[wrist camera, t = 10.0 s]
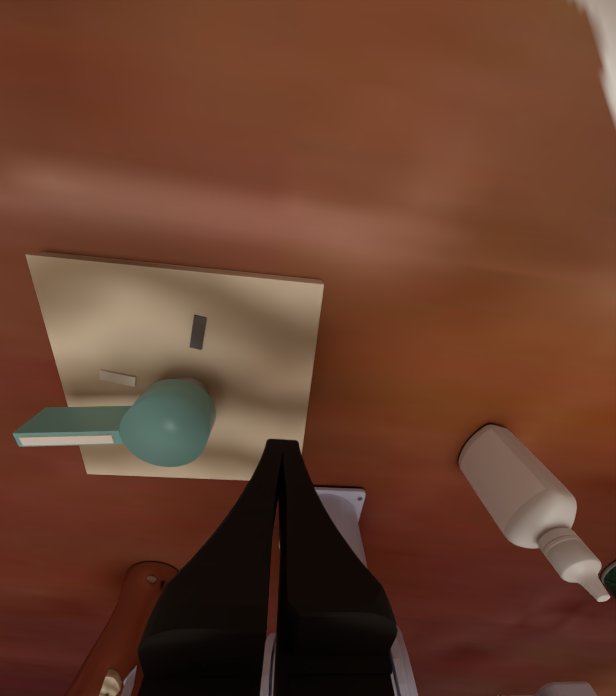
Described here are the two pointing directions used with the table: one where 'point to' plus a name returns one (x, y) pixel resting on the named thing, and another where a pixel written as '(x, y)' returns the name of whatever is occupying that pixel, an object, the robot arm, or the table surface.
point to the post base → (183, 350)
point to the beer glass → (123, 636)
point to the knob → (133, 424)
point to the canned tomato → (610, 578)
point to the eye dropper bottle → (529, 504)
